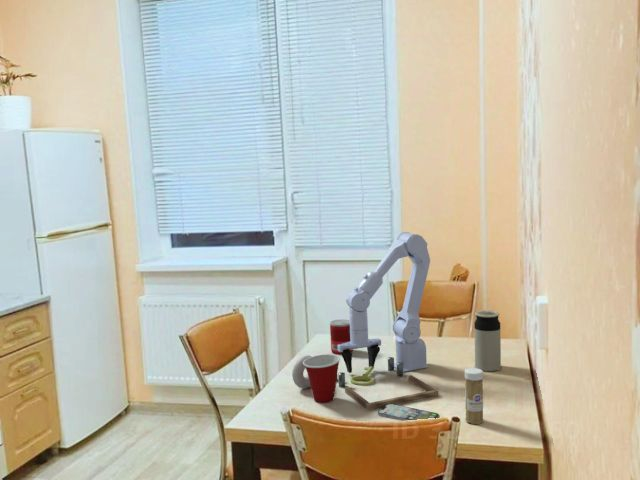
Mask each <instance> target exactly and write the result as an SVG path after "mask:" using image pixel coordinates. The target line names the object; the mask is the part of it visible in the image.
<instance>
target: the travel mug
mask: <svg viewBox="0 0 640 480" xmlns="http://www.w3.org/2000/svg"><path fill="white" fill-rule="evenodd" d="M474 314H475V317H476V318H475V321H474V325H473V326H474V368H477V369H481V370H482V371H483V372H489V371H490V372H496V371H498V370H500V369H501V368H502V366H501V365H502V364H501V362H502V361H501V357H502V355H501V354H502V353H501V339H502V338H501V322H500V320H499V316H500V312H498V311H495V310H479V311H475V313H474Z"/></svg>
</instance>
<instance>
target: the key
mask: <svg viewBox="0 0 640 480" xmlns="http://www.w3.org/2000/svg"><path fill="white" fill-rule="evenodd" d="M363 369H364V370H366V372H365V373H362V375H353V376H351V377H350V380H349V382H350V384H352V385H356V386H371V385H373V384H374V383H375V382H374V378H373V377H371V376H370V374H371V372H372V371H373V370H374V369H373V367H372V366H370V367H369V366H365V367H364V368H363ZM362 381H365V382H362Z"/></svg>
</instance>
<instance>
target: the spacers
mask: <svg viewBox="0 0 640 480" xmlns="http://www.w3.org/2000/svg"><path fill="white" fill-rule="evenodd" d="M394 363H395V358H394V356H393V357H392V356H388V357H387V371H389V372H394V371H395V367H394ZM396 376H397V377H403V376H404V372H403V363H402V362H398V363H397V368H396ZM337 381H338V387H339V388H345V387H346V373H345V372H337Z"/></svg>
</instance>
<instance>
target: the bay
mask: <svg viewBox="0 0 640 480" xmlns="http://www.w3.org/2000/svg"><path fill="white" fill-rule="evenodd" d="M407 376H408V377H407V381H408V382H410V383H411V384H413V385H415V386H417V387H418V388H420V389H422V390H423V392H417V393H412V394H407V395H402V396H397V397H393V398H392V397H391V398H388V399H382V400H377V401H373V402H369V401H368V400H367V399H366V398H364V397H363V396H361V395H360V394H359V393H357V392H356V391H355V390H353V389H352V388H351V387H350V386H345V387H344V393H345V394H346V395H348V397H350V398H352V399H353V400H354V401H355V402H357V404H359V405H360V406H361V407H363V408H364V409H365V410H366V411H371V410H378V409H381V408H383V407H384V406H385V405H386V404H395V405H401V404H406V403H410V402H411V403H412V402H416V401H422V400H426V399H432V398H435V397H439V391H438V389H436V388H434V387H433V386H431V385H429V384H427V383H425V382H424V381H422V380H421V379H419V378H418V377H415V376H413V375H412V374H411V375H407Z"/></svg>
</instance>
